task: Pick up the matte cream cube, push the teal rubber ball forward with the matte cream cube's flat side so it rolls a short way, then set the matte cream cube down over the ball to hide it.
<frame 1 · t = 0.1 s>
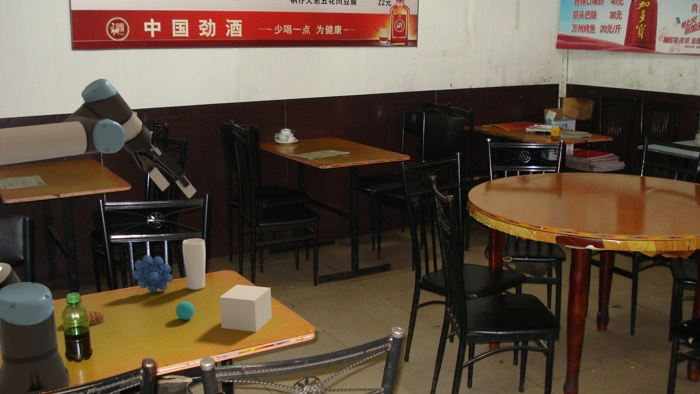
hand: (178, 191, 203), 36 cm above the table, tool tilted 35°, fingers open, 13 cm apart
drinking glass: (196, 288, 234), on the table
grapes: (154, 293, 230), on the table
matte cream cube: (247, 322, 205), on the table
ball: (185, 310, 208), on the table
pastry: (83, 324, 207), on the table
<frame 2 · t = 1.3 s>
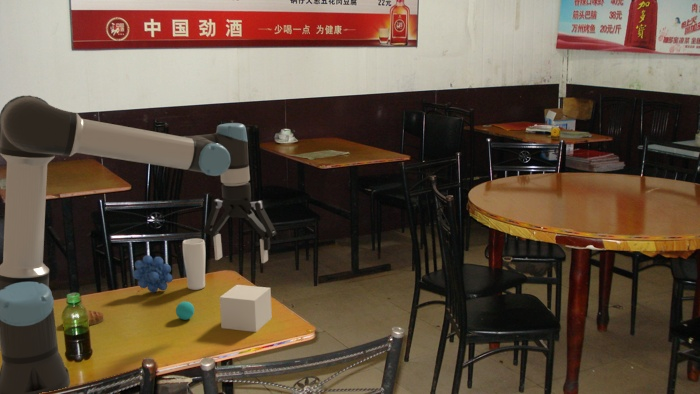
hand: (241, 260, 202), 18 cm above the table, tool pointing down, fingers open, 13 cm apart
nothing on the table moved.
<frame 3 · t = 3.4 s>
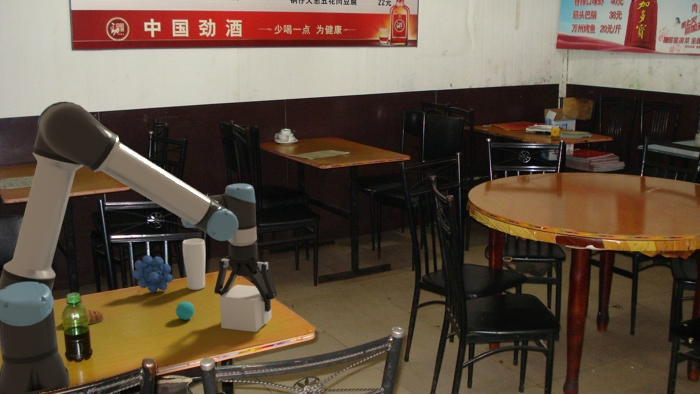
hand: (246, 320, 205), 1 cm above the table, tool pointing down, fingers closed on matte cream cube, 10 cm apart
matte cream cube: (247, 322, 205), on the table, touching gripper
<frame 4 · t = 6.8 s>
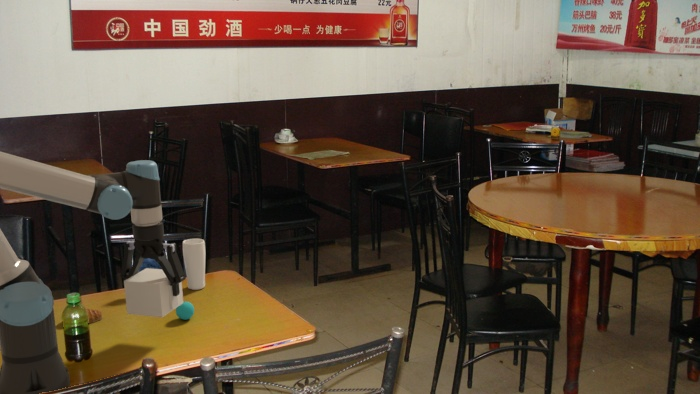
hand: (155, 305, 193), 9 cm above the table, tool pointing down, fingers closed on matte cream cube, 10 cm apart
matte cream cube: (155, 308, 193), point 9 cm above the table, touching gripper
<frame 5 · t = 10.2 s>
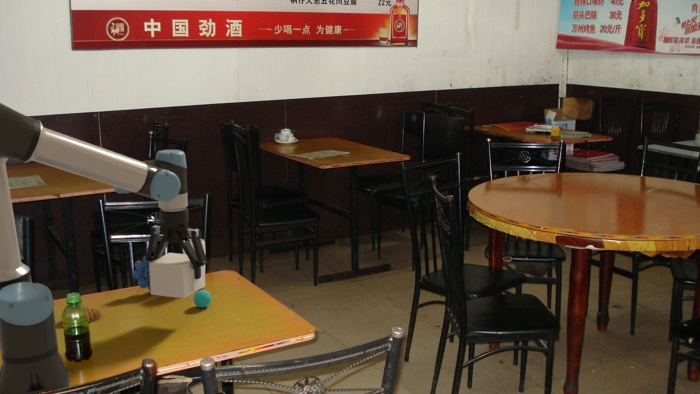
hand: (177, 287, 204), 10 cm above the table, tool pointing down, fingers closed on matte cream cube, 10 cm apart
matte cream cube: (177, 290, 204), point 9 cm above the table, touching gripper
ball: (202, 298, 217), on the table
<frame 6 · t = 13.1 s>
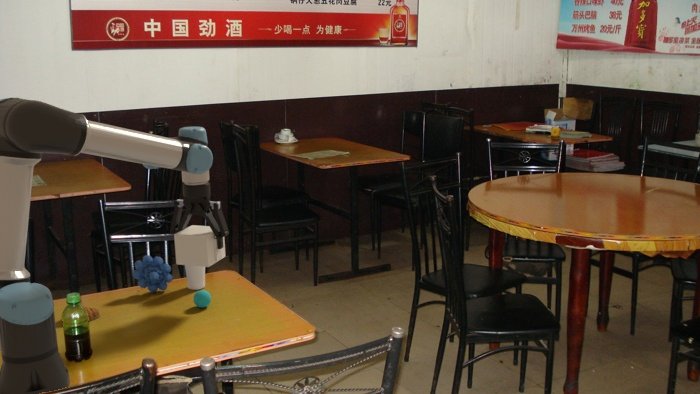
hand: (201, 258, 215), 14 cm above the table, tool pointing down, fingers closed on matte cream cube, 10 cm apart
matte cream cube: (201, 260, 215), point 14 cm above the table, touching gripper
when the fingers open (1 cm above the table, at t = 16.0 s): matte cream cube stays where it is, on the table.
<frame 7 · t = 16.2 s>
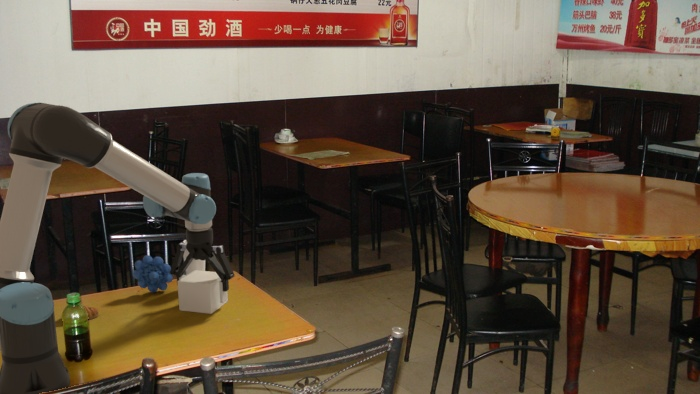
hand: (203, 299, 218), 2 cm above the table, tool pointing down, fingers open, 12 cm apart
matte cream cube: (204, 305, 218), on the table
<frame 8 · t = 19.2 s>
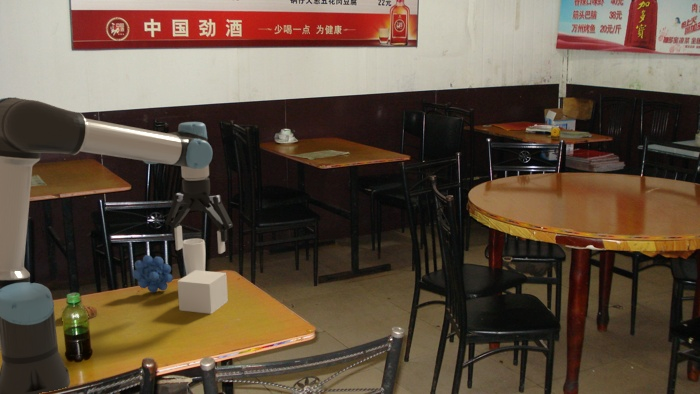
hand: (200, 250, 215), 17 cm above the table, tool pointing down, fingers open, 13 cm apart
at the end: ball 0.9 cm from the matte cream cube (horizontally); matte cream cube on the table; ball moved 9.6 cm from its start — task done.
